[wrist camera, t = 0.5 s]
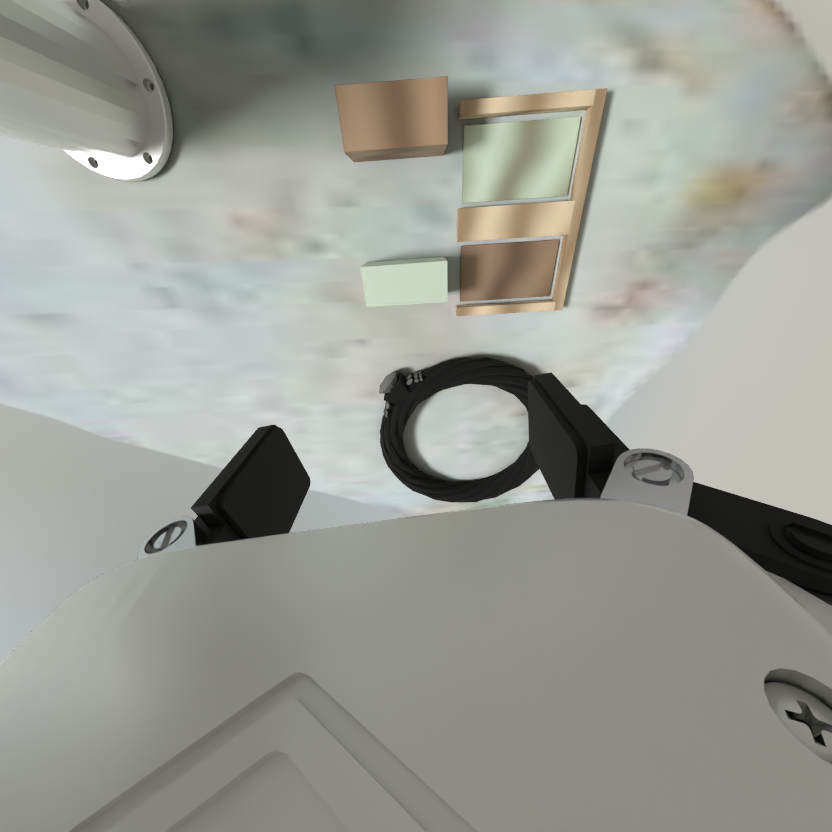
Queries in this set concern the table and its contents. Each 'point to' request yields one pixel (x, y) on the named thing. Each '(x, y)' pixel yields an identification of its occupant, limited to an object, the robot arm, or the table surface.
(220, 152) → the table surface
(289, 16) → the table surface
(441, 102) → the walnut bar
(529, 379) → the cable lock
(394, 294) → the sage bar
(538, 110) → the oak rack
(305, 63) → the table surface
